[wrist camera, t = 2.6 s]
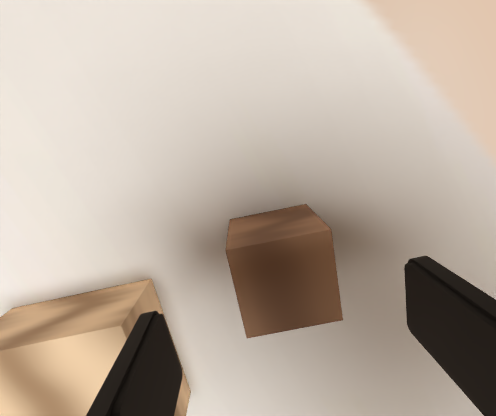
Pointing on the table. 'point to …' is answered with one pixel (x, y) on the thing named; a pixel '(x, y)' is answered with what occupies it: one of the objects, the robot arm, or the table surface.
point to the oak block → (70, 349)
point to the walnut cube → (283, 270)
